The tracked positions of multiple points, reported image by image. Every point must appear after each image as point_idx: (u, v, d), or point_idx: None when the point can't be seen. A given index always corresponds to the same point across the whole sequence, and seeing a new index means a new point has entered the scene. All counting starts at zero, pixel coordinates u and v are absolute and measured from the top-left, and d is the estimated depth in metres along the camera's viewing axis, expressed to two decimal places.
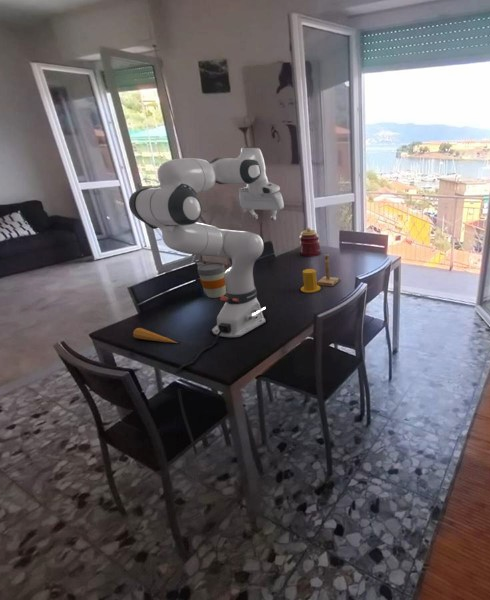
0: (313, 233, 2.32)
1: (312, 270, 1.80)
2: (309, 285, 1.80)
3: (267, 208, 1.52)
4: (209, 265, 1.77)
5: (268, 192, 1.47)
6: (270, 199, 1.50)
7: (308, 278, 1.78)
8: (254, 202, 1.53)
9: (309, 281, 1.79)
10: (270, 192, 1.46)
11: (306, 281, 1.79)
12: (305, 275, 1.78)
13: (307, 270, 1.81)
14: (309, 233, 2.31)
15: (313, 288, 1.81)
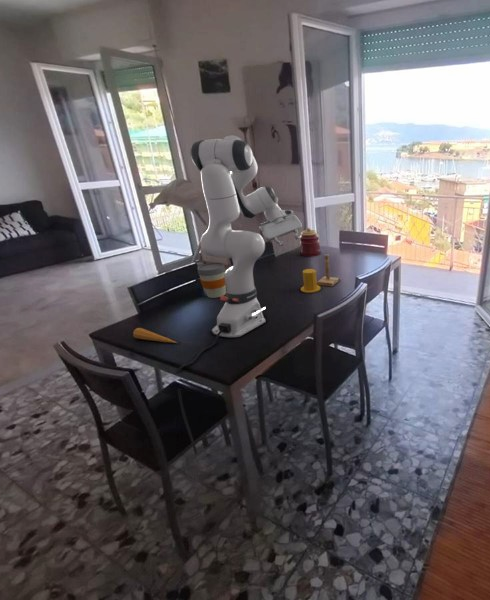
0: (313, 233, 2.32)
1: (312, 270, 1.80)
2: (309, 285, 1.80)
3: (292, 228, 1.79)
4: (209, 265, 1.77)
5: (290, 213, 1.79)
6: (291, 220, 1.80)
7: (308, 278, 1.78)
8: (279, 228, 1.76)
9: (309, 281, 1.79)
10: (292, 212, 1.79)
11: (306, 281, 1.79)
12: (305, 275, 1.78)
13: (307, 270, 1.81)
14: (309, 233, 2.31)
15: (313, 288, 1.81)
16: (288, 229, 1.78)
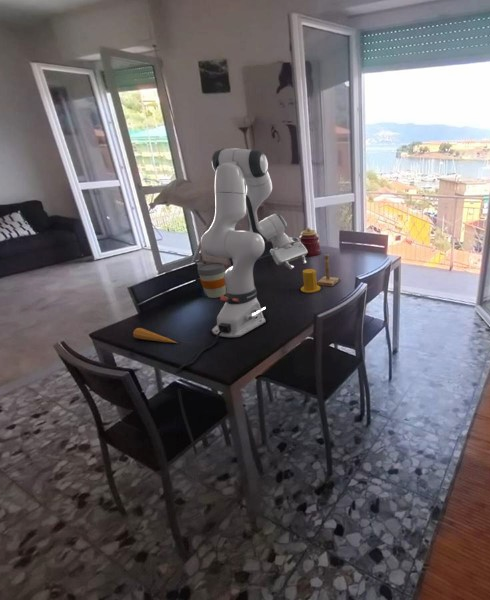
0: (313, 233, 2.32)
1: (312, 270, 1.80)
2: (309, 285, 1.80)
3: (300, 254, 1.85)
4: (209, 265, 1.77)
5: (297, 240, 1.87)
6: (298, 247, 1.87)
7: (308, 278, 1.78)
8: (288, 253, 1.81)
9: (309, 281, 1.79)
10: (298, 239, 1.88)
11: (306, 281, 1.79)
12: (305, 275, 1.78)
13: (307, 270, 1.81)
14: (309, 233, 2.31)
15: (313, 288, 1.81)
16: (297, 254, 1.84)
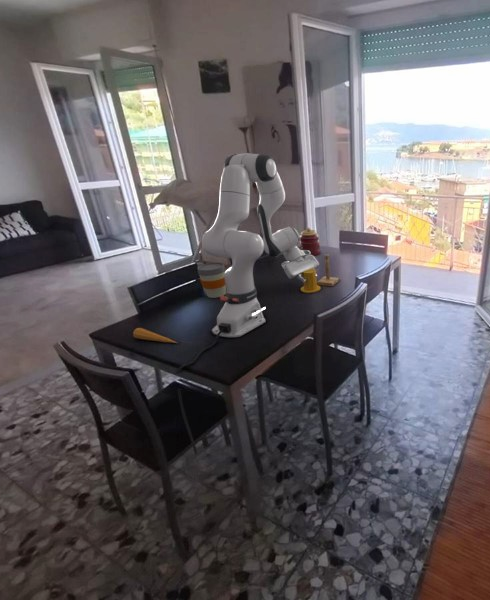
0: (313, 233, 2.32)
1: (312, 270, 1.80)
2: (309, 285, 1.80)
3: (311, 267, 1.84)
4: (209, 265, 1.77)
5: (308, 253, 1.85)
6: (309, 260, 1.86)
7: (308, 278, 1.78)
8: (300, 266, 1.80)
9: (309, 281, 1.79)
10: (309, 252, 1.86)
11: (306, 281, 1.79)
12: (305, 275, 1.78)
13: (307, 270, 1.81)
14: (309, 233, 2.31)
15: (313, 288, 1.81)
16: (308, 267, 1.82)
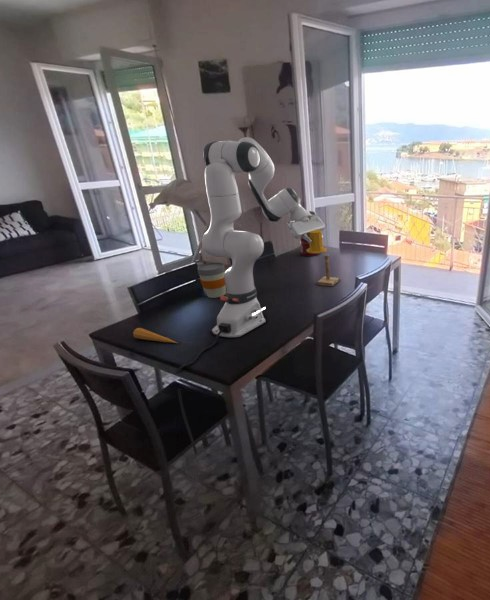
0: None
1: (318, 230, 1.76)
2: (315, 246, 1.76)
3: (317, 228, 1.80)
4: (209, 265, 1.77)
5: (314, 213, 1.81)
6: (315, 221, 1.82)
7: (314, 238, 1.74)
8: (306, 226, 1.75)
9: (315, 241, 1.75)
10: (315, 213, 1.82)
11: (312, 241, 1.75)
12: (311, 235, 1.74)
13: (313, 230, 1.76)
14: None
15: (319, 249, 1.77)
16: (314, 228, 1.78)
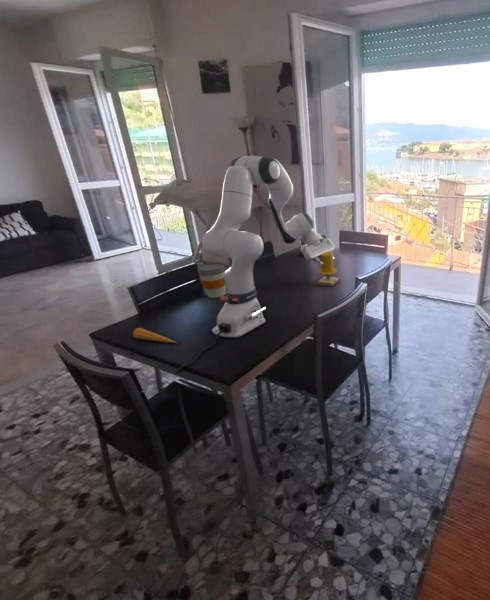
0: None
1: (329, 253, 1.86)
2: (326, 268, 1.85)
3: (328, 250, 1.89)
4: (209, 265, 1.77)
5: (325, 237, 1.91)
6: (326, 244, 1.91)
7: (326, 260, 1.84)
8: (318, 249, 1.85)
9: (326, 263, 1.84)
10: (326, 236, 1.92)
11: (323, 263, 1.85)
12: (323, 257, 1.83)
13: (324, 253, 1.86)
14: None
15: (330, 270, 1.87)
16: (325, 251, 1.88)
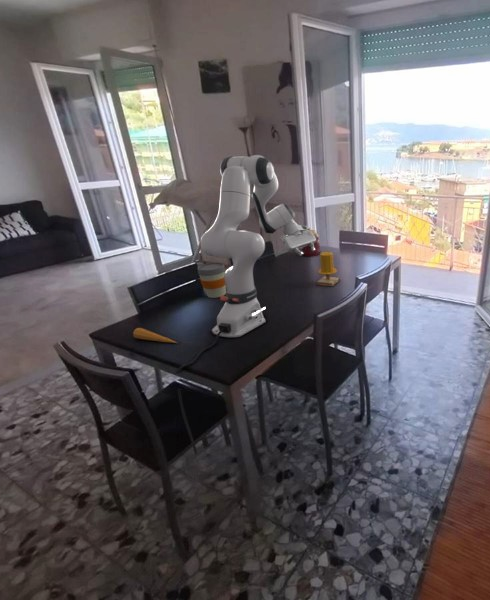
0: (313, 233, 2.32)
1: (329, 253, 1.86)
2: (326, 268, 1.85)
3: (309, 241, 1.94)
4: (209, 265, 1.77)
5: (306, 228, 1.96)
6: (307, 235, 1.96)
7: (326, 260, 1.84)
8: (298, 240, 1.90)
9: (326, 263, 1.84)
10: (307, 227, 1.97)
11: (323, 263, 1.85)
12: (323, 257, 1.83)
13: (324, 253, 1.86)
14: None
15: (330, 270, 1.87)
16: (306, 241, 1.93)
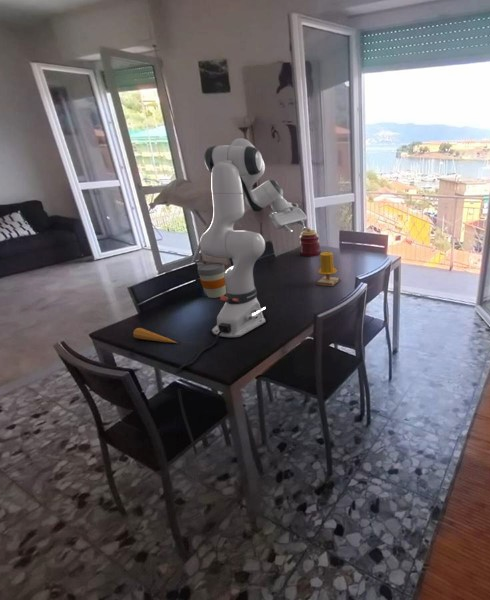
0: (313, 233, 2.32)
1: (329, 253, 1.86)
2: (326, 268, 1.85)
3: (299, 219, 1.87)
4: (209, 265, 1.77)
5: (296, 205, 1.89)
6: (297, 213, 1.89)
7: (326, 260, 1.84)
8: (288, 217, 1.83)
9: (326, 263, 1.84)
10: (297, 205, 1.90)
11: (323, 263, 1.85)
12: (323, 257, 1.83)
13: (324, 253, 1.86)
14: (309, 233, 2.31)
15: (330, 270, 1.87)
16: (296, 219, 1.86)
